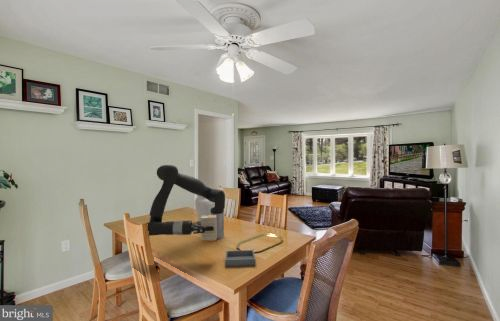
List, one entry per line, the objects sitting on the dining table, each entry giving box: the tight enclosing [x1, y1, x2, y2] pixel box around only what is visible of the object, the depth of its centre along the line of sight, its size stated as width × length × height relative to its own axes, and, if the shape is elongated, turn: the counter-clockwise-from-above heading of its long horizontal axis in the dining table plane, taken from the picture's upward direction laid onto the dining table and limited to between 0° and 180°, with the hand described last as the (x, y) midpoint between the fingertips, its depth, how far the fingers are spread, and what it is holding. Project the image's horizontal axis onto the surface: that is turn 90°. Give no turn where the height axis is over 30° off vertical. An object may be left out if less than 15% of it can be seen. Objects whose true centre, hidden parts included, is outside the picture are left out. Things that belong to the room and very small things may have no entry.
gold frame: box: [236, 233, 283, 254], centre depth 156 cm, size 19×35×2 cm, turn 135°
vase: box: [194, 195, 214, 222], centre depth 197 cm, size 15×15×29 cm
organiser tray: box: [225, 249, 256, 268], centre depth 131 cm, size 12×16×4 cm
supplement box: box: [200, 215, 217, 242], centre depth 132 cm, size 8×5×13 cm, turn 92°
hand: (213, 226), depth 132 cm, fingers closed on supplement box, 5 cm apart
